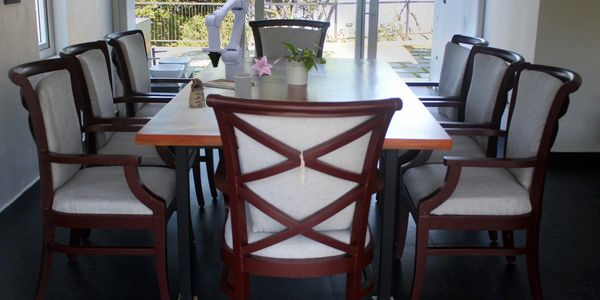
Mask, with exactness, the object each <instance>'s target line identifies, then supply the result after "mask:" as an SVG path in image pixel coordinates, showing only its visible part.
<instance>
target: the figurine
mask: <svg viewBox="0 0 600 300" xmlns="http://www.w3.org/2000/svg"><path fill="white" fill-rule="evenodd" d="M191 81H192V83H191V84H190V92H189V95H188V96H189V98H188V106H189V107H190V108H193V107H200V108H205V107H206V106H205V105H206V104H207V103H206V104H205V100H206V97H205V92H204V90H205V87H203V86H202V82H203V80H201V79H200V78H199V77H196V78H191Z"/></svg>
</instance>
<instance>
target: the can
mask: <svg viewBox="0 0 600 300" xmlns="http://www.w3.org/2000/svg"><path fill="white" fill-rule="evenodd" d="M252 82H253V81H252V76H251V73H250V72H248V71H243V72H239V73H236V75H235V76H234V85H235V90H234V98H235V97H240V98H251V99H253V92H252V88H253V86H252Z"/></svg>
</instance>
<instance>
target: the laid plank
mask: <svg viewBox="0 0 600 300" xmlns="http://www.w3.org/2000/svg"><path fill="white" fill-rule="evenodd" d="M211 81H219V82H228V83H234V80H228V79H225V78H217V79H213V80H211ZM251 82H252V87H254V86H253V85H255V82H254V81H251Z"/></svg>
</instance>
